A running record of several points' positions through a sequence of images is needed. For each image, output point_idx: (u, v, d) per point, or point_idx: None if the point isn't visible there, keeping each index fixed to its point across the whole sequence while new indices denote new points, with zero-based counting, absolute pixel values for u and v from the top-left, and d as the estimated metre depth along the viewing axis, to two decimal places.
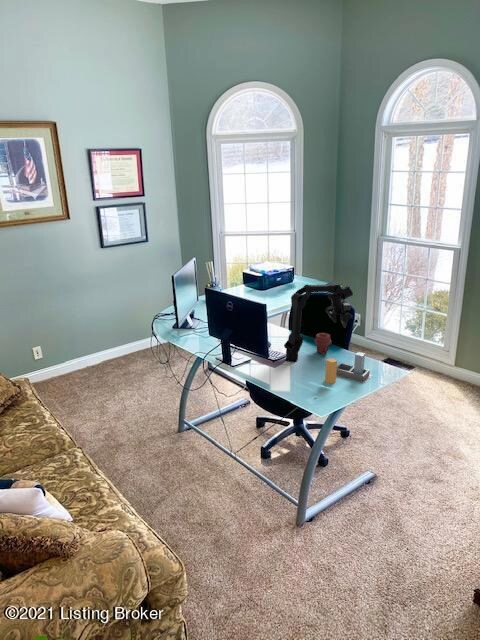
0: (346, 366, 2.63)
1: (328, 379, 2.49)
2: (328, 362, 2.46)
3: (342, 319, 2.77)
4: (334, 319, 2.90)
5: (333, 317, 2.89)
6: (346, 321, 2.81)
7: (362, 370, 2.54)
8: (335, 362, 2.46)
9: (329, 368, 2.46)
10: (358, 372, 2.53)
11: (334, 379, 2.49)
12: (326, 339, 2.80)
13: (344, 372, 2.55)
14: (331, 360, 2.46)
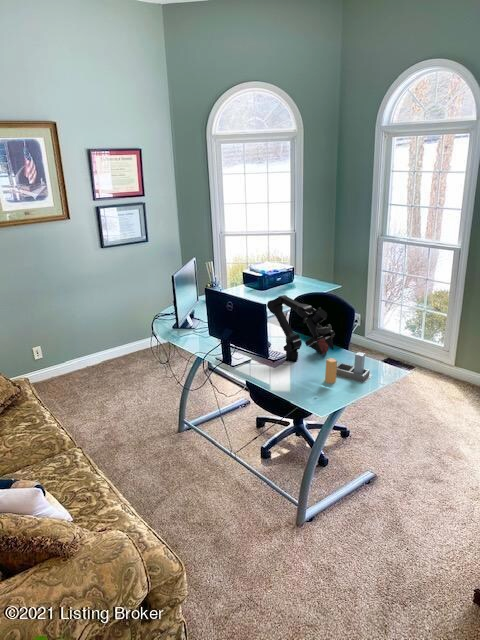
0: (346, 366, 2.63)
1: (328, 379, 2.49)
2: (328, 362, 2.46)
3: None
4: (330, 345, 2.58)
5: (328, 343, 2.59)
6: (317, 347, 2.51)
7: (362, 370, 2.54)
8: (335, 362, 2.46)
9: (329, 368, 2.46)
10: (358, 372, 2.53)
11: (334, 379, 2.49)
12: None
13: (344, 372, 2.55)
14: (331, 360, 2.46)
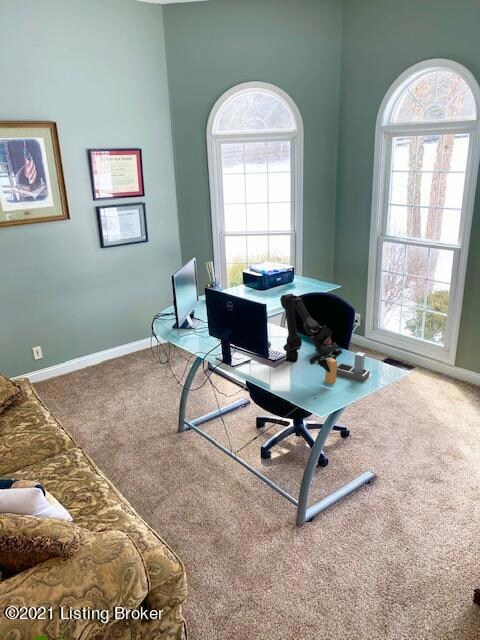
0: (346, 366, 2.63)
1: (328, 379, 2.49)
2: (328, 362, 2.46)
3: None
4: None
5: None
6: (324, 364, 2.47)
7: (362, 370, 2.54)
8: (335, 362, 2.46)
9: (329, 368, 2.46)
10: (358, 372, 2.53)
11: (334, 379, 2.49)
12: None
13: (344, 372, 2.55)
14: (331, 360, 2.46)
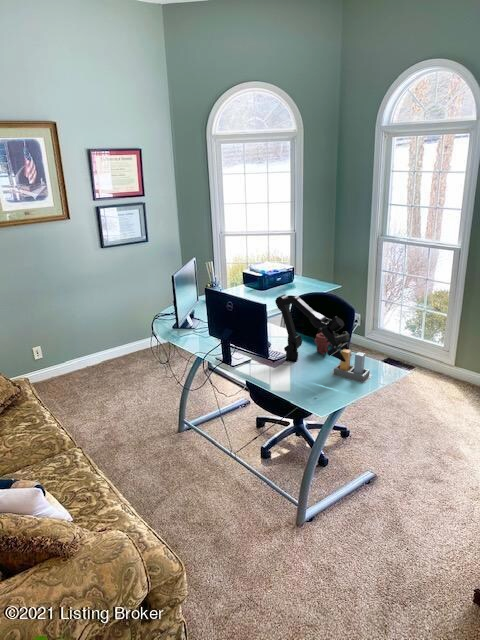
0: None
1: (344, 369, 2.58)
2: (344, 353, 2.55)
3: None
4: None
5: None
6: (339, 355, 2.53)
7: (362, 370, 2.54)
8: (350, 352, 2.56)
9: (345, 359, 2.55)
10: (358, 372, 2.53)
11: (348, 368, 2.59)
12: (326, 339, 2.80)
13: (344, 372, 2.55)
14: (346, 351, 2.55)
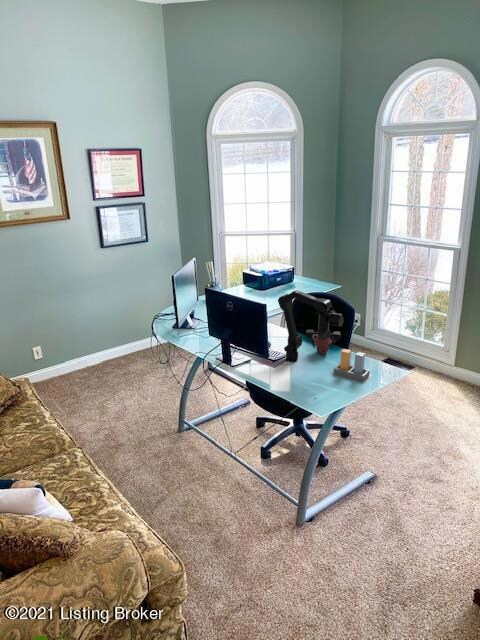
0: None
1: (344, 369, 2.58)
2: (344, 353, 2.55)
3: None
4: (331, 344, 2.61)
5: (331, 342, 2.61)
6: None
7: (362, 370, 2.54)
8: (350, 352, 2.56)
9: (345, 359, 2.55)
10: (358, 372, 2.53)
11: (348, 368, 2.59)
12: None
13: (344, 372, 2.55)
14: (346, 351, 2.55)
